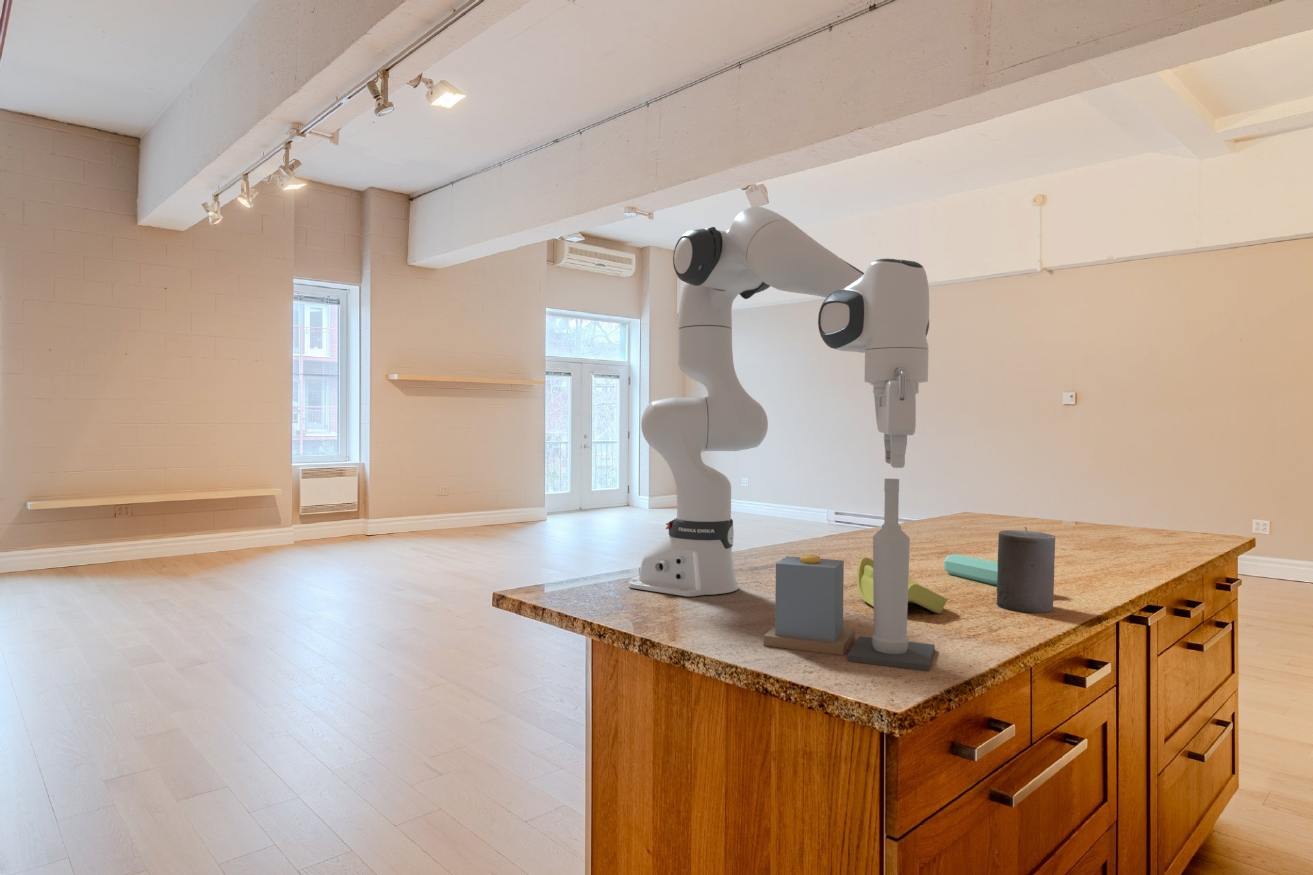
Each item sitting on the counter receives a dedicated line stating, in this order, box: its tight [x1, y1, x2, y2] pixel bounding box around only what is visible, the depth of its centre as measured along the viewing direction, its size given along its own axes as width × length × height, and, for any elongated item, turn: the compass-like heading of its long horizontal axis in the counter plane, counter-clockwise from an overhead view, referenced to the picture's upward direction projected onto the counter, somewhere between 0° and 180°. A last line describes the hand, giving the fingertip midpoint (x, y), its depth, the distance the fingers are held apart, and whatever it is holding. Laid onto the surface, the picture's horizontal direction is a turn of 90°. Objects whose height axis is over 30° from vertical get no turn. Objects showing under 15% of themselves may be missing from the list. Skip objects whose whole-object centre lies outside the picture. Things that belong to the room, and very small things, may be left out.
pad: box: [847, 635, 936, 672], centre depth 114 cm, size 11×11×1 cm
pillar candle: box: [995, 526, 1056, 614], centre depth 145 cm, size 10×10×15 cm
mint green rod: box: [943, 553, 998, 587], centre depth 167 cm, size 6×6×25 cm
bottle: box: [871, 478, 911, 654], centre depth 114 cm, size 5×5×25 cm
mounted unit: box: [763, 554, 856, 656], centre depth 121 cm, size 12×10×13 cm
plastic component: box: [856, 556, 948, 614], centre depth 148 cm, size 20×7×10 cm
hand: (894, 465), depth 114 cm, fingers open, 8 cm apart
